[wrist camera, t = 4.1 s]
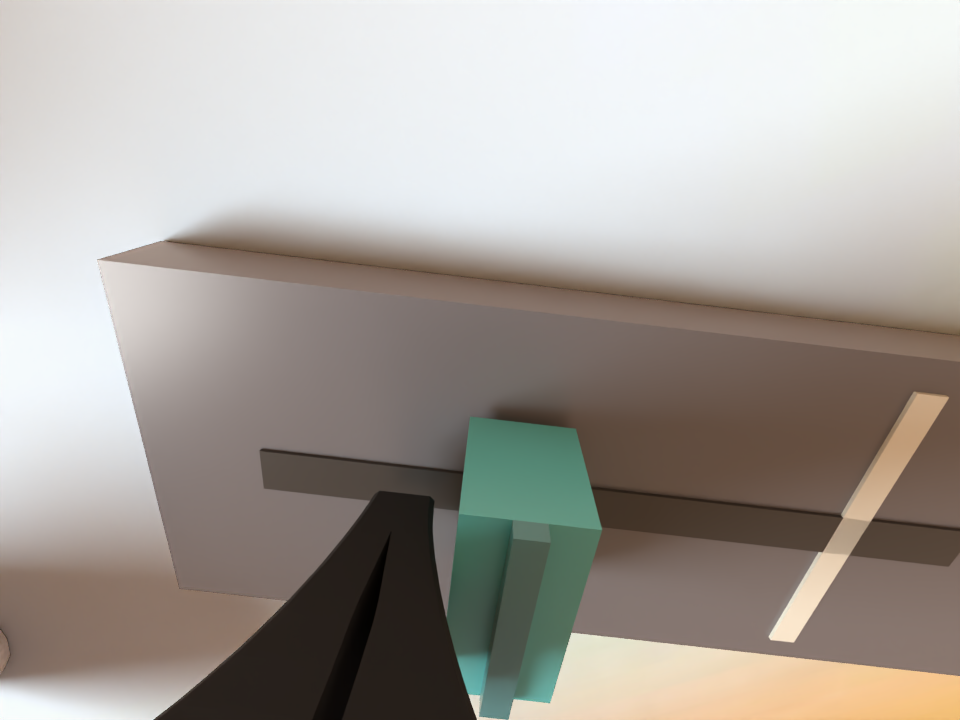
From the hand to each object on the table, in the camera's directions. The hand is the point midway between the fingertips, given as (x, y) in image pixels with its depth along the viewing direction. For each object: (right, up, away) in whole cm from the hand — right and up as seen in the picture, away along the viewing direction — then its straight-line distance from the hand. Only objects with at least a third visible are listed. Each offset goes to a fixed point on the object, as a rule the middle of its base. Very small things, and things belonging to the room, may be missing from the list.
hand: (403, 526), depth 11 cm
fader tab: (+2, 0, +1) cm, 3 cm away
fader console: (+5, +1, +3) cm, 6 cm away
